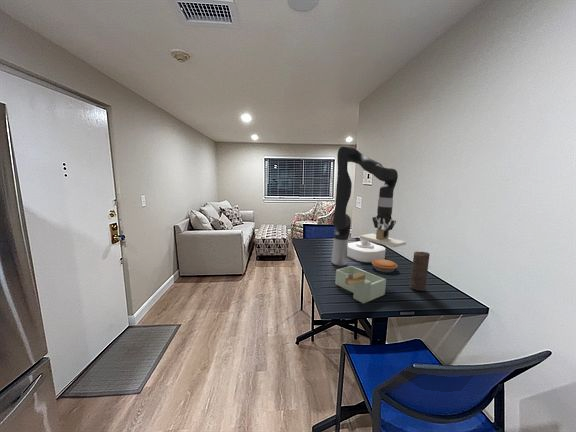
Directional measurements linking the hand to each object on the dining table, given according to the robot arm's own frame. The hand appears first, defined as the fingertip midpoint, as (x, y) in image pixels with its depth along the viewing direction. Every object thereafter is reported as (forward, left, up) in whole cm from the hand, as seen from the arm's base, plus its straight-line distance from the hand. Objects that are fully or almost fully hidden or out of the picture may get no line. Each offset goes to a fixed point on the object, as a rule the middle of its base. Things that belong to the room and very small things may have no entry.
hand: (382, 236), depth 140 cm
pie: (-8, +17, -25) cm, 32 cm away
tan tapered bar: (+10, -34, -15) cm, 38 cm away
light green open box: (+2, -22, -25) cm, 33 cm away
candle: (+19, +6, -25) cm, 32 cm away
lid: (0, 0, -3) cm, 3 cm away
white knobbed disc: (-32, +28, -26) cm, 50 cm away
